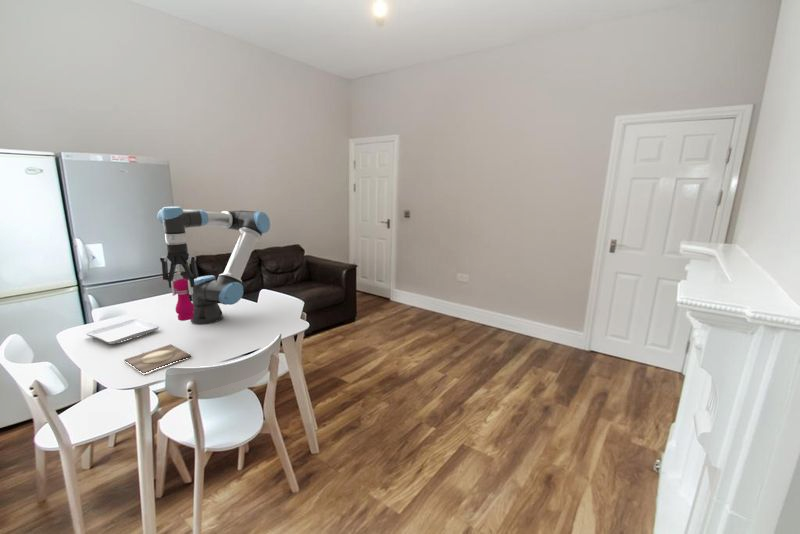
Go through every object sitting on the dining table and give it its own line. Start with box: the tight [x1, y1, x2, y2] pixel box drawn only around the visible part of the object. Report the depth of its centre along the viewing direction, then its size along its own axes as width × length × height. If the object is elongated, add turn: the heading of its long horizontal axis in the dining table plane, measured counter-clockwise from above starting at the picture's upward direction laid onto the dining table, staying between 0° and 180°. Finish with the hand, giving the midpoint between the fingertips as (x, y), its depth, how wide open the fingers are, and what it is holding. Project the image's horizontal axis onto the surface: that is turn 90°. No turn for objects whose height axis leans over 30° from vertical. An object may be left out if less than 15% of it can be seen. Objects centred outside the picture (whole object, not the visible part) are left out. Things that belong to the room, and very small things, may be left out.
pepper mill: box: [174, 275, 194, 322], centre depth 155 cm, size 7×7×20 cm
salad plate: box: [85, 318, 160, 345], centre depth 163 cm, size 21×21×3 cm
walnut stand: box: [124, 343, 192, 373], centre depth 141 cm, size 17×17×2 cm
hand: (183, 294), depth 155 cm, fingers closed on pepper mill, 6 cm apart
